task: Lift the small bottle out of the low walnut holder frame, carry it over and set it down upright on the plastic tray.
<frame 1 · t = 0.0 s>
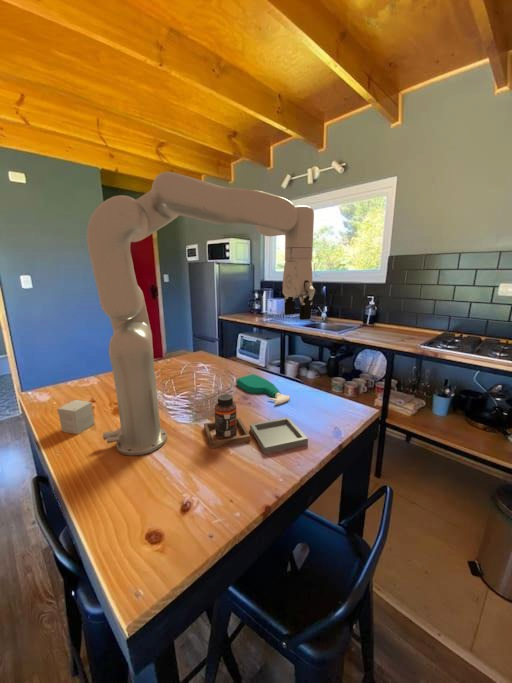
hand: (296, 316, 84), 31 cm above the table, fingers open, 9 cm apart
product box: (78, 428, 85), on the table
spray bottle: (263, 393, 109), on the table
tray: (277, 436, 80), on the table
supplement bottle: (226, 434, 81), resting in holder
holder: (226, 434, 81), on the table
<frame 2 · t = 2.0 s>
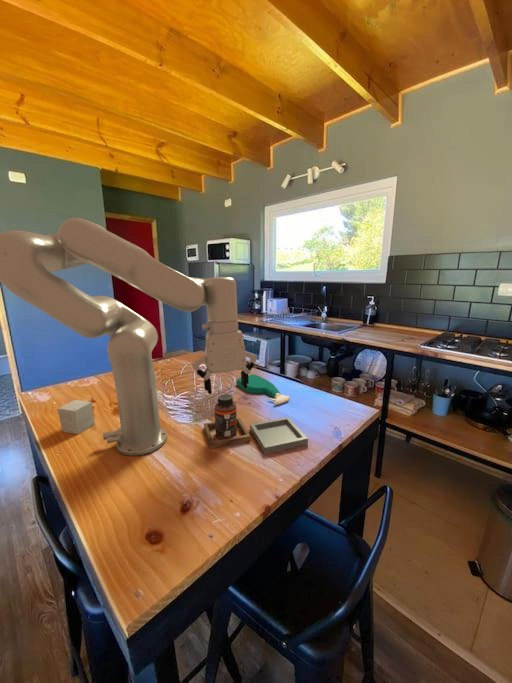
hand: (227, 389, 78), 13 cm above the table, fingers open, 9 cm apart
nothing on the table moved.
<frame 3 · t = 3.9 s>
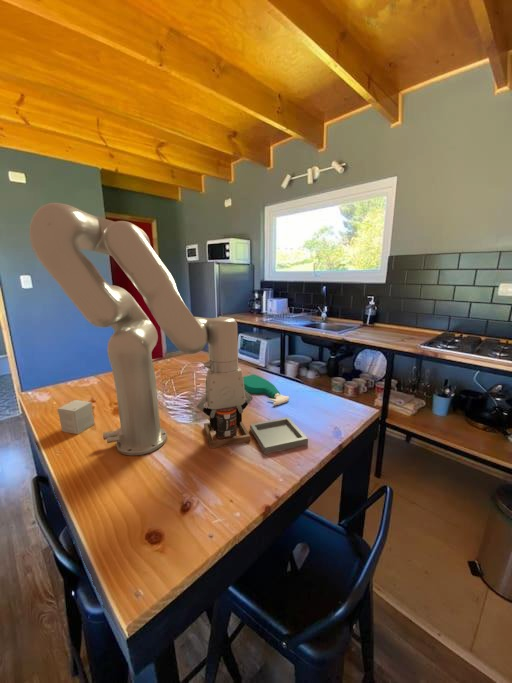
hand: (226, 425, 80), 3 cm above the table, fingers closed on supplement bottle, 6 cm apart
supplement bottle: (226, 434, 81), resting in holder, touching gripper
everything else where it was.
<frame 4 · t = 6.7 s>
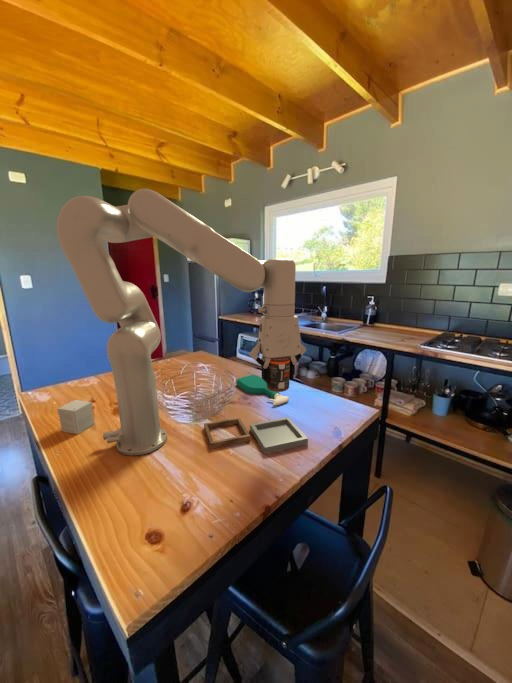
hand: (278, 379, 75), 17 cm above the table, fingers closed on supplement bottle, 6 cm apart
supplement bottle: (277, 388, 76), point 14 cm above the table, touching gripper
everything else where it was.
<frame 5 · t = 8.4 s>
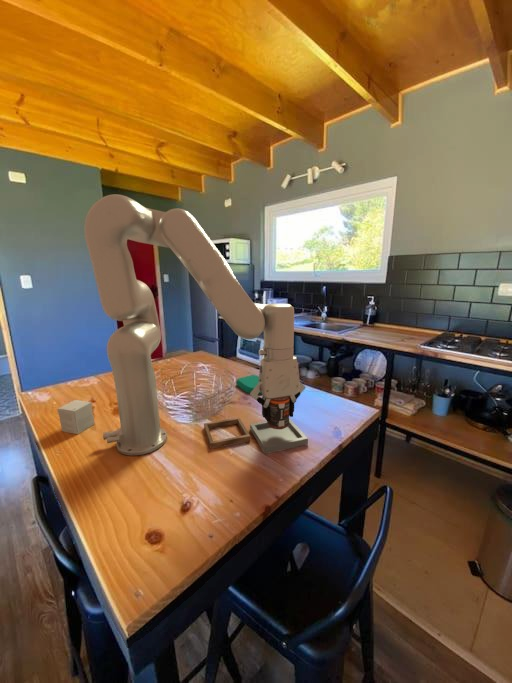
hand: (278, 416, 78), 6 cm above the table, fingers closed on supplement bottle, 6 cm apart
supplement bottle: (278, 425, 79), point 3 cm above the table, touching gripper
everything else where it was.
when the fingers open (4 cm above the table, at t = 9.7 s): supplement bottle drops 1 cm, resting on tray.
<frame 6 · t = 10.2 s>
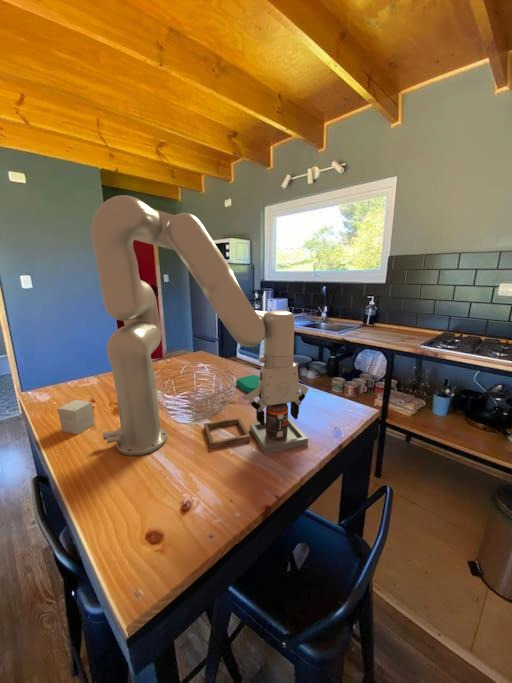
hand: (277, 419, 78), 5 cm above the table, fingers open, 9 cm apart
supplement bottle: (276, 435, 79), resting on tray
everything else where it was.
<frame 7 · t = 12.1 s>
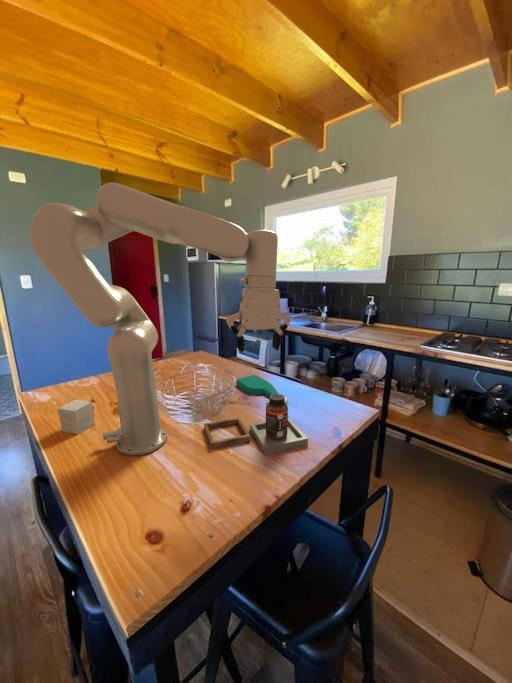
hand: (258, 349, 76), 24 cm above the table, fingers open, 9 cm apart
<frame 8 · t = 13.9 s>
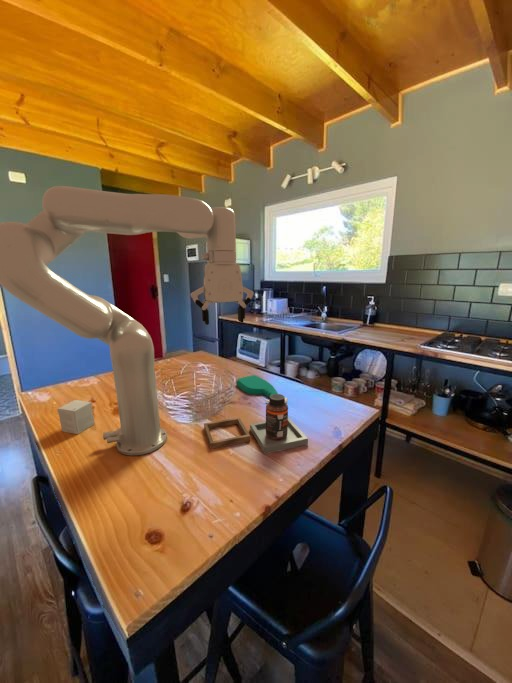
hand: (224, 322, 81), 30 cm above the table, fingers open, 9 cm apart
at the end: supplement bottle inside the target area on the tray (0.3 cm from its centre), point 0.4 cm above the tray's base; supplement bottle tilted 0°; the gripper is holding nothing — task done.
